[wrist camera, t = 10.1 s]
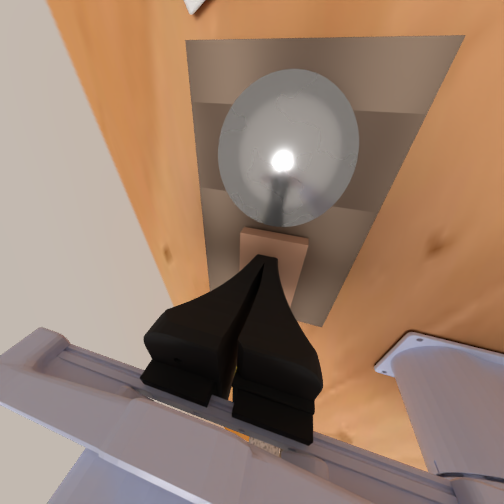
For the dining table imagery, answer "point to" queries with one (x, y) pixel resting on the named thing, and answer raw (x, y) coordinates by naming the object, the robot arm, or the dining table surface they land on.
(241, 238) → the bar
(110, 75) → the dining table surface
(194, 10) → the dessert
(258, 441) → the mug
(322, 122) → the silver knob
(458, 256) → the dining table surface
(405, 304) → the dining table surface
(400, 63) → the socket block
